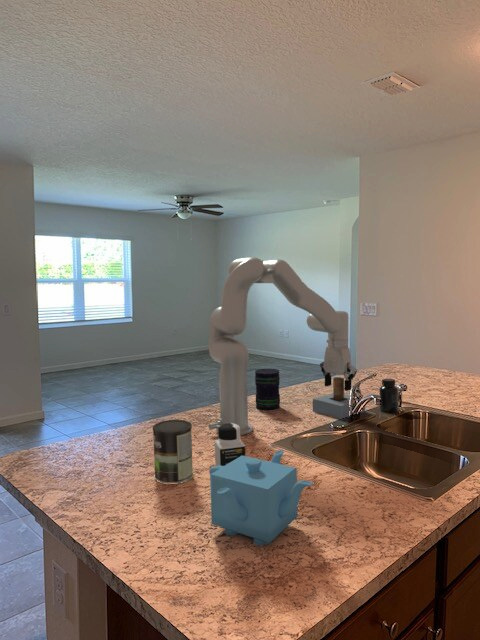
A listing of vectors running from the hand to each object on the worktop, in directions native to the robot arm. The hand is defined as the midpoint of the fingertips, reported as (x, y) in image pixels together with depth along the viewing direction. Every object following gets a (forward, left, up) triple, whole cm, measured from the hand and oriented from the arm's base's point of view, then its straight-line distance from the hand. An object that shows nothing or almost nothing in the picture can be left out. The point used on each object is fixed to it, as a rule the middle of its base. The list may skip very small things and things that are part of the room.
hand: (337, 388), depth 180 cm
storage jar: (-16, +23, -10) cm, 29 cm away
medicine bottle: (-63, -14, -10) cm, 65 cm away
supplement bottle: (+15, -12, -10) cm, 22 cm away
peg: (0, 0, -8) cm, 8 cm away
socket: (0, 0, -9) cm, 9 cm away
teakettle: (-78, -44, -10) cm, 90 cm away
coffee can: (-78, -9, -10) cm, 79 cm away
